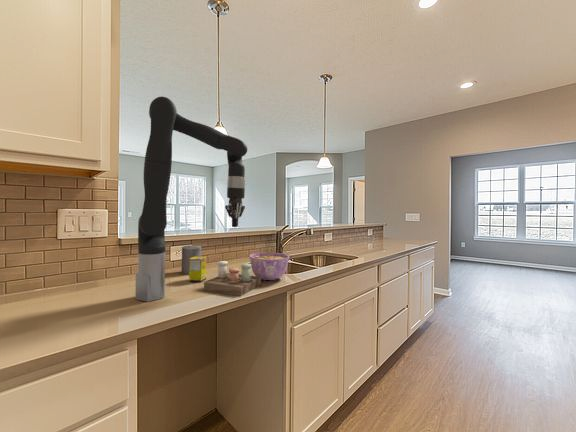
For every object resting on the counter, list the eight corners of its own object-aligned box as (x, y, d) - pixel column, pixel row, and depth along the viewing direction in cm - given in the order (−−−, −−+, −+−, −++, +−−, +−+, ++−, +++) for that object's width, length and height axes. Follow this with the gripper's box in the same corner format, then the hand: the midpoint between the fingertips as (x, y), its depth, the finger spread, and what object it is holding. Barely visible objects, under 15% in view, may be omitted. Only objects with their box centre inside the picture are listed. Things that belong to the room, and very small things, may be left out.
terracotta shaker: (235, 286, 118) (235, 270, 118) (226, 285, 120) (227, 269, 119) (240, 284, 122) (241, 268, 122) (232, 282, 124) (232, 267, 123)
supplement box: (206, 279, 133) (206, 256, 132) (201, 282, 127) (201, 259, 126) (194, 278, 133) (194, 256, 133) (188, 281, 127) (189, 258, 127)
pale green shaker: (247, 282, 116) (248, 266, 116) (238, 281, 117) (239, 265, 117) (252, 280, 120) (253, 264, 120) (243, 278, 122) (244, 263, 121)
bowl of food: (270, 287, 123) (271, 261, 122) (240, 278, 135) (240, 255, 135) (296, 278, 139) (297, 255, 138) (267, 271, 151) (267, 251, 150)
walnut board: (241, 296, 109) (241, 287, 109) (203, 290, 116) (204, 281, 115) (261, 284, 126) (261, 277, 126) (227, 279, 132) (227, 272, 132)
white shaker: (223, 279, 120) (224, 263, 120) (215, 278, 122) (215, 262, 121) (229, 276, 124) (229, 261, 124) (221, 275, 126) (221, 260, 125)
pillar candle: (180, 270, 147) (181, 243, 147) (199, 269, 151) (200, 242, 151) (182, 275, 139) (182, 246, 138) (202, 273, 143) (202, 245, 142)
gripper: (235, 186, 112) (234, 228, 113) (250, 188, 124) (249, 226, 125) (219, 186, 115) (218, 227, 115) (236, 188, 127) (235, 225, 128)
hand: (234, 226), depth 120 cm, fingers closed
